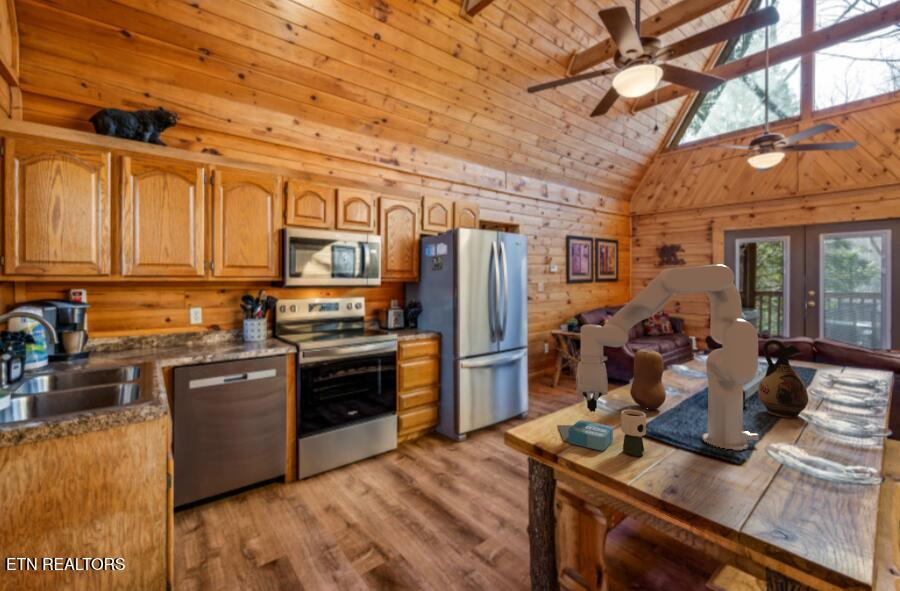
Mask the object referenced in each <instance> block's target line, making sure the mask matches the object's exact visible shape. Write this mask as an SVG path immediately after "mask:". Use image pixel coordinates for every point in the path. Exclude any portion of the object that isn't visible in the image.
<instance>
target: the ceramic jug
mask: <svg viewBox="0 0 900 591" xmlns="http://www.w3.org/2000/svg"><path fill="white" fill-rule="evenodd" d="M774 345H776V346H777V347H778V348H777V349H776V350H775V351H773V353H772V355H773V356H775V357H777V359H776V361H775V363H773V362H774V361H773V360H772V358H771V356H770V352H769V348H768V347H770V346H774ZM762 351H763V355H764V357H765V360H766V362H767V369H766V372H765V375H764V376H763V377H762V379H761V380H760V382H759V385H758V392H757V395H758V399H759V401H760V403H761V404H762V405H763V407H765V408H766V413H768V414H771V415H774V416H776V417H780V418H784V419H785V418H786V419H792V420H793V419H797V418H799V414H800V413H801V412H803V411H804V410H805V409H806V408H807V406H808V403H809V394H808V391H807V387H806V385H805V383H804V382H803V380H802V379H801V377H800V376H799V374H798V372H796V370H795V369H794V367H792V365H791V363H790V360H789V358H791V357H794V356H796V355H797V356H798V355H800V354H803V353H804V352H803V351H802V350H801V349H799V348H798V347H797V346H795V345H793V344H789V345H787V346H786V345H785V344H784V343H783V342H782V341H781V340H778V339H773V338H770V339H768V340H766V341H764V343H763V345H762Z"/></svg>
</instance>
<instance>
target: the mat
mask: <svg viewBox="0 0 900 591" xmlns="http://www.w3.org/2000/svg"><path fill="white" fill-rule="evenodd" d="M573 425H574V424H573ZM573 425H571V424H557V428H558V427H559V428H558V430H560V431H559V433H560V435H562V436H561V438H562V441H563V440H564V441H565V442H564V441H563V442H564V443H569V428H570V427H572V426H573ZM566 441H567V442H566Z"/></svg>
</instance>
